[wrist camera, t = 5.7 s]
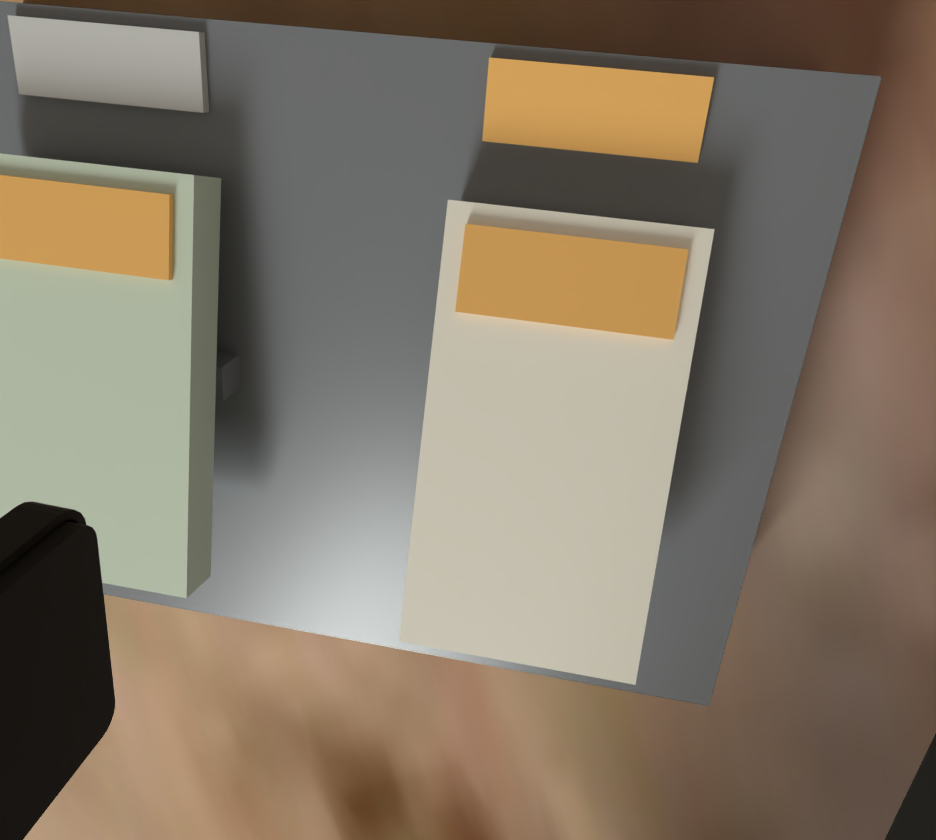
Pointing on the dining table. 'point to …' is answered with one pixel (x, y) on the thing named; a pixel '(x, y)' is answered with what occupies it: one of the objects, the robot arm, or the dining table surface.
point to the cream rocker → (550, 434)
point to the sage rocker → (112, 359)
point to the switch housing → (418, 268)
